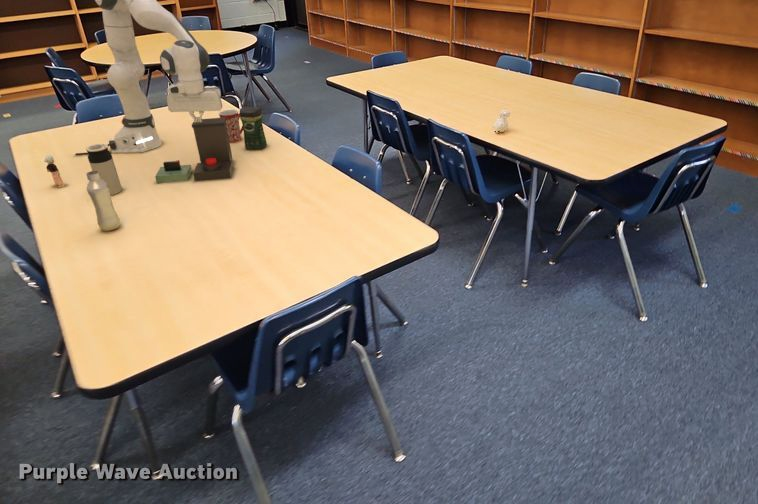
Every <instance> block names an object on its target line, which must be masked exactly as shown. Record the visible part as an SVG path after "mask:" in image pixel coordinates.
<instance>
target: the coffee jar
mask: <svg viewBox="0 0 758 504" xmlns="http://www.w3.org/2000/svg"><path fill="white" fill-rule="evenodd" d="M239 113H240V118H239V120H240V121H241V124H242V126H243V131H242V132H243V141H244V148H245V149H246V150H254V151H255V150H263V149H265V148H266V147H267V145H268V144H267V143H268V141H267V138H266V134H265V129H264V126H263V121H262V120H263V111H262V109H261V107H260V106H243V107H241V108H240V109H239Z"/></svg>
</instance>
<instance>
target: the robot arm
mask: <svg viewBox="0 0 758 504" xmlns="http://www.w3.org/2000/svg"><path fill="white" fill-rule="evenodd" d="M94 2H95V4H96V5H97V6H98V7H99V8H100V9H102V22H103V28H104V32H105V38H106V43H107V46H108V47H109V48H110V50H111V53H112V55H113V59H114V61H115V62H114V63H113V64H111V65H110V66H109V68H108V70H107V73H106V79H107V81H108V83H109V84H110V85H111V86H112V87H113V89H114V90H115V93H116V95H117V96H118V98H119V102H120V104H121V106H122V111H123V113H124V116H123V117H122V119H121V121H120V123H121V124H122V125H123V126H121V128H120V129H119V130H118V131H117V132H116V134H115V135H114V138H113V139H112V140H109V141H108V144H107V143H106V144H107V145H108V147H109V148H110V153H111V154H112V153H113V154H120V153H123V154H124V153H125V154H126V153H127V154H129V153H130V154H131V153H134V154H135V153H145V152H147V151H150V150H153V149H156V148H159V147H161V146H162V145H163V142H162V140H161V138H160V136H159V134H158V130H157V129H156V123H155V118H154V116H153V114H152V112H151V108H150V104H149V100H148V97H147V96H146V95H145V93H144V91H143V90H142V87H141V85H140V81H141V80H142V79H143V78H144V75H145V72H146V67H145V65H144V63H143V60H142V59H141V55H140V53H139V50H138V46H137V42H136V36H135V29H134V24H133V19H134V21H135V22H136V23H137V24H138V25H139V26H141V27H142V28H145V29H148V30H152V31H153V30H154V31H160V32H163V33H164V32H165V33H168V34H170V35H172V36H173V37H174V38H176V41H174V42H173V43H172V46H170V47H168V48H166V49H163V50H162V51H161V53H160V56H159V62H160V67H161V69H162V70H163V71H164V72H165V73H166V74H168V75H171V76H177V77H178V78H177V80H178V81H176V82H174V83H171V84H170V85H168V87H167V89H166V91H167V96H166V103H167V104H166V105H167V109H168V111H169V112H170V113H184V112H185V113H189V116H190V117H191V118H192V119H193V122H194V123H196V122H202V119H203V115H204V112H216V111H217V112H218V111H219V112H221V111H222V109H223V102H222V92H221V89H220V88H219V87H218V86H216V85H211V86H210V85H205V84H204V78H203V75H202V73H203V72H205V71H206V70H207V69H208V67H209V65H210V61H211V60H210V59H211V58H210V54H209V53H208V50H207V49H206V48H205V47H204V46H202V45H201V43H199V42H198V41H197V40H196V39H195V37H194V36H193V35H192V34H191V32H190V31H189V30H188V29H187V28H186V25H184V24H183V22H182V21H181V20H180V18H178V17H177V15H175V14H174V13H172V12H170V11H168V10H167V9H166V8H164V7H163V6H162V5H161V3H159V1H158V0H94ZM195 112H198V115H199V116H196V115H195V114H194V113H195ZM74 155H75V156H84V155H86V156H87V155H88V152H87V151H86V152H77V153H74Z"/></svg>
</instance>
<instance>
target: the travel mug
mask: <svg viewBox="0 0 758 504" xmlns="http://www.w3.org/2000/svg"><path fill="white" fill-rule="evenodd" d="M85 151H86V153H87V152H88V154H87V159H88V163H89V165H90V169H91V171H99V173H100V175H101V179H102V180H104V181H105V182H106V183H107V184H108V185H109V188H110V195H111V196H113V195H117V194H119V193H121V192H122V191H123V188H122V183H121V181H120V178H119V174H118V170H117V167H116V164H115V162H114V159H113V158H114V157H113V155H112V152H111V151H110V150H109V146H108V145H107V143H97V144H92V145H88V146H86V148H85Z"/></svg>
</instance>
